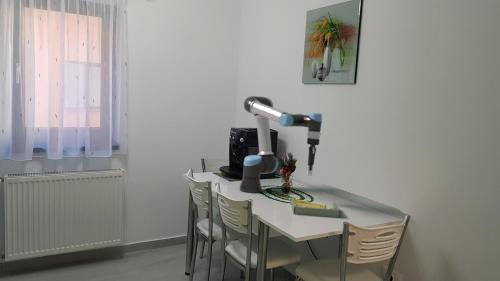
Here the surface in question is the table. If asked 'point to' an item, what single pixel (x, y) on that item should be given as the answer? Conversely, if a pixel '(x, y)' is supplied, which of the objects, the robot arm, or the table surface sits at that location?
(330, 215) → the tray
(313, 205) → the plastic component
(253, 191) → the robot arm
